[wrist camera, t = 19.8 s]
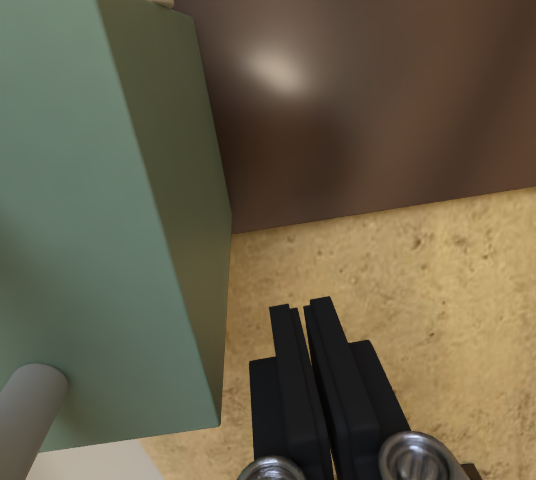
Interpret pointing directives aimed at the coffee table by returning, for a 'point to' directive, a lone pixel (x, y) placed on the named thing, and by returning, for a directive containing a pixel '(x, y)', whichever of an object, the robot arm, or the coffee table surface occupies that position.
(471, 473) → the button block
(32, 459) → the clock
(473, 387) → the coffee table surface
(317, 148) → the clock stand
